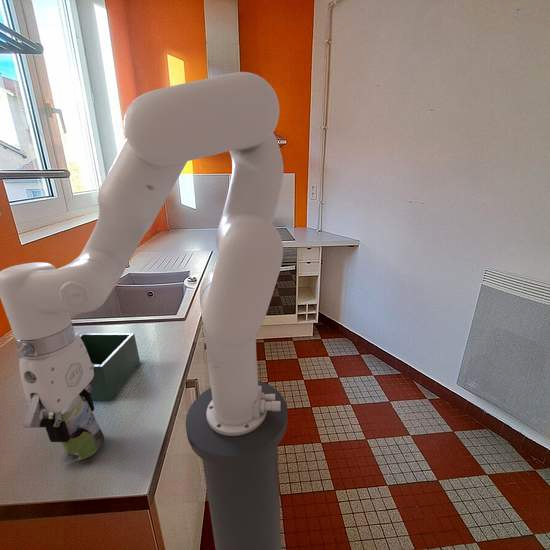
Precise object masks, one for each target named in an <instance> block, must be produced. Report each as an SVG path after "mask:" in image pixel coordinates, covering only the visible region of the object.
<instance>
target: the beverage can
mask: <svg viewBox="0 0 550 550" xmlns="http://www.w3.org/2000/svg"><path fill="white" fill-rule="evenodd" d="M49 419H53V413H51V412H49ZM61 421H64V422H65V423H66V426H67V429H68V432H69V436H70V440H69V441H68V442H60V444H61V446H62V447H63V449H64V451H65V452H66V454H67V456H68V458H69V459H70V460H72V461H82V460H85V459H88V458H90V457H92V456H93V455H94V454H95V453H97V451H98V450H99V449H100V448H101V447H102V445H103V444H104V440H105V435H104V433H103V430H102V429H101V427H100V424H99V423H98V421H97V419H96V417H95V415H94V413H93V412H92V410H91V408H90V406H89V404H88V402H87V400H86V399H85V398H84V397H82V396H80V395H78V396H77V397H76V398H75V399H74V400H73V401H72V402H71V403H70V404H69V405H68V406H67V407H66V408H65V409H64V410H62V411H61Z"/></svg>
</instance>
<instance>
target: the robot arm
mask: <svg viewBox="0 0 550 550" xmlns="http://www.w3.org/2000/svg"><path fill="white" fill-rule="evenodd" d="M279 118H280V102H279V98H278V95H277V93H276V91H275V90H274V88H273V86H272V85H271V84H270V82H268V81H267V80H266V79H265V78H264V77H262V76H260V75H259V74H256V73H252V72H249V71H235V72H229V73H225V74H220V75H216V76H212V77H208V78H203V79H199V80H194V81H188V82H183V83H180V84H176V85H175V84H174V85H170V86H165V87H162V88H157V89H154V90H153V89H152V90H150V91H147V92H144V93H142V94H140V95H139V96H137V97H136V98H134V99H133V100H132V101H131V102H130V103H129V105H128V106H127V108H126V111H125V113H124V118H123V130H124V134H125V139H124V142H123V144H122V145H121V147H120V149H119V151H118V153H117V155H116V157H115V159H114V161H113V163H112V164H111V167H110V169H109V171H108V173H107V175H106V177H105V178H104V180H103V182H102V184H101V186H100V188H99V189H98V193H97V202H98V208H99V209H98V217H97V220H96V222H95V226H94V228H93V230H92V233H91V235H90V236H89V238H88V240H87V242H86V244H85V245H84V246H83V249H82V251H81V253H80V254H79V255H78V256H77V257H76V258H75V259H74V260H72V261H71V262H69V263H68V264H65V265H63V266H61V267H59V268H56V267H55V266H54V264H52V263H49V262H41V261H40V262H39V261H38V262H28V263H21V264H16V265H13V266H9V267H6V268H4V269H2V270H0V301H1V304H2V306H3V309H4V312H5V315H6V319H7V320H8V321H7V322H8V323H9V326H10V329H11V332H12V335H13V338H14V341H15V343H16V346H17V349H16V350H15V352H14V355H15V356H16V358H18V364H19V374H20V381H21V385H22V389H23V393H24V396H25V400H26V402H27V405H28V409H27V411H26V415H25V417H24V421H23V423H22V427H23V428H31V429H32V428H45V430H46V433H47V436H48V439H49V441H50V442H51V443H61V442H68V441H69V440H70V436H69V432H68V429H67V426H66V423H65V422H64V421H61V411H62V410H64V409H65V408H66V407H67V406H68V405H69V404H70V403H71V402H72V401H73V400H74V399H75V398H76V397H77V396H78V395H80V396H82V397H84V398H85V399H86V400H87V402H88V404H89V406H90V408H91V410H92V413H93V411H95V405H94V402H93V401H92V398H91V394H90V393H89V392H90V391H91V389H92V387H91V385H90V383H91V380H92V379H93V377H94V371H93V368H94V363H91V361H90V358H89V355H88V352H87V350H86V347H85V345H84V343H83V341H82V340H81V338H80V336H79V335H80V334H78V332H75V330H74V329H75V328H74V326H73V322H72V319H71V314H86V313H89V312H94V311H95V310H98V309H99V308H100V307H102V306H103V305H104V304H105V303H106V301H107V299H108V298H109V296H110V295H111V293H112V292H113V290H114V288H115V287H116V285H117V284H118V282H120V279H121V277H122V276H123V273H124V272H125V270H126V268H127V267H128V265H129V263H130V261H131V260H132V258H133V256H134V254H135V252H136V250H137V248H138V246H139V245H140V243H141V241H142V239H144V236H145V235H146V233H147V232H148V231H149V230H150V229H151V228H152V226H153V224H154V222H155V220H156V218H157V217H158V215H159V213H160V212H161V210H162V208H163V206H164V204H165V202H166V200H167V199H168V197H169V195H170V193H171V192H172V190H173V188H174V186H175V184H176V183H177V182H178V179H179V177H180V175H181V174H182V172H183V170H184V168H185V166H186V165H187V163H188V162H190V161H194V160H199V159H203V158H207V157H210V156H211V157H212V156H216V155H219V154H220V155H221V154H223V153H228V152H229V155H230V157H231V165H232V168H231V170H232V171H231V177H230V182H229V186H228V191H227V196H226V199H225V202H224V206H223V211H222V215H221V218H220V220H219V224H218V226H217V230H216V233H215V246H216V249H217V256H216V261H215V265H214V269H212V270H211V271H209V272H208V273H207V274H206V275H205V277H204V278H203V279H202V281H201V285H200V288H199V304H200V305H199V306H200V312H201V315H200V316H201V320H202V326H203V333H204V340H205V348H206V358H207V366H208V375H209V381H210V388H211V391H212V399H213V400H212V401H211V402H210V404H209V405H208V408H207V413H206V416H207V421H208V424H209V426H210V427H211V428H212V429H213V430H214V431H215V432H217V433H219V434H222V435H226V436H239V435H243V434H246V433H249V432H251V431H253V430H254V429H256V428H257V427H258V426H260V424H261V423H262V422H263V421H264V419H265V417H266V414H267V411H280V409H281V402H280V401H275V394H264V393H262V390H261V386H258V381H259V376H258V375H259V374H258V360H257V359H258V358H257V357H258V356H257V337H256V335H257V334H258V332H259V331H260V329H261V328H262V325H263V323H264V321H265V318H266V316H267V313H268V310H269V307H270V304H271V301H272V297H273V294H274V291H275V288H276V285H277V282H278V278H279V275H280V272H281V268H282V263H283V256H284V244H283V240H282V237H281V234H280V232H279V231H278V230H277V228H276V227H275V225H273V224H274V219H275V215H276V211H277V208H278V203H279V199H280V195H281V191H282V186H283V182H284V161H283V155H282V151H281V148H280V145H279V142H278V140H277V137H276V135H275V133H274V132H275V129H276V128H277V126H278V122H279ZM265 400H269V401H272V402H268V401H265ZM49 412H51V413H53V419H49Z"/></svg>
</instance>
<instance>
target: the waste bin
mask: <svg viewBox="0 0 550 550" xmlns="http://www.w3.org/2000/svg"><path fill="white" fill-rule="evenodd" d="M78 335H79V336H80V338H81V340H82V341H83V343H84V345H85V347H86V350H87V352H88V355H89V358H90V361H91V363H94V368H93V371H94V377H93V379H92V380H91V383H90V385H91V387H92V389H91V391H90V392H89V393H90V394H91V398H92V401H94V402H111V401H112V400H113V399H114V398H115V396H116V395H117V394H118V393H119V392H120V390H121V389H122V387H123V386H124V385H125V384H126V382H127V381H128V380H129V378H130V377H131V376H132V375H133V374H134V372H135V371H136V370H137V368H138V367H139V366H140V364H141V360H140V355H139V349H138V345H137V340H136V336H135V333H133V332H131V333H129V332H127V333H126V332H125V333H123V332H120V333H119V332H117V333H116V332H113V333H112V332H111V333H110V332H109V333H107V332H105V333H104V332H103V333H101V332H100V333H98V332H97V333H93V332H92V333H91V332H90V333H88V332H87V333H86V332H85V333H81V334H78Z"/></svg>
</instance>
